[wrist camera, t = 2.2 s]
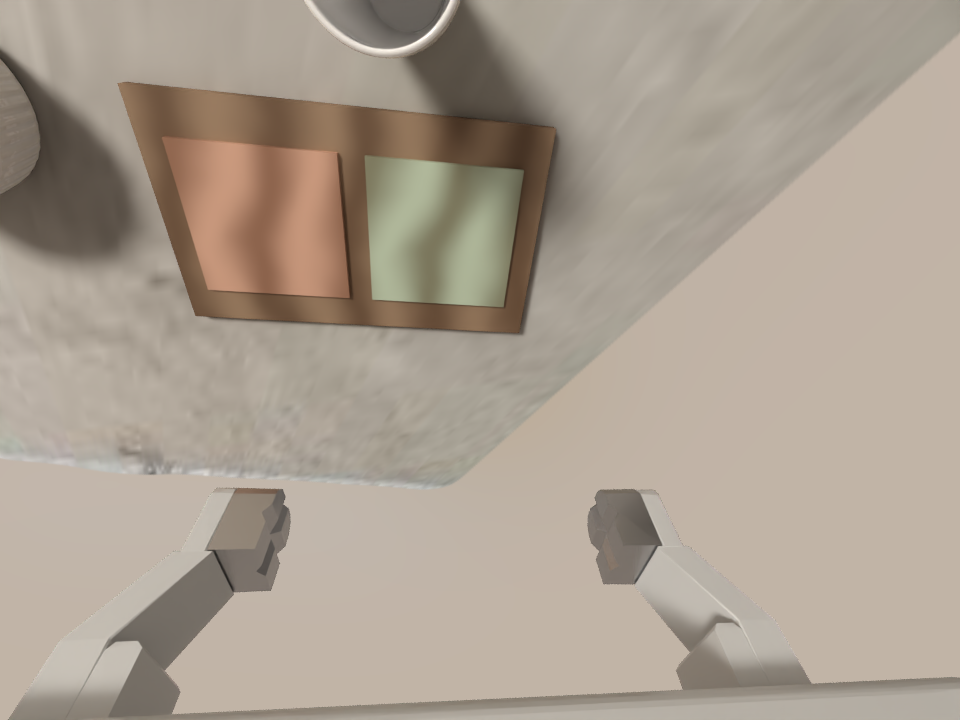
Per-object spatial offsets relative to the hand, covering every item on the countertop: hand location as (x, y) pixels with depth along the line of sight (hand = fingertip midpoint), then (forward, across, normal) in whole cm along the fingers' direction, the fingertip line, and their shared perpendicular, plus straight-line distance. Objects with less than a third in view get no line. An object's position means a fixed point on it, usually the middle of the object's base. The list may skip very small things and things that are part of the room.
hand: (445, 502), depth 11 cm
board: (+30, +7, +4) cm, 31 cm away
